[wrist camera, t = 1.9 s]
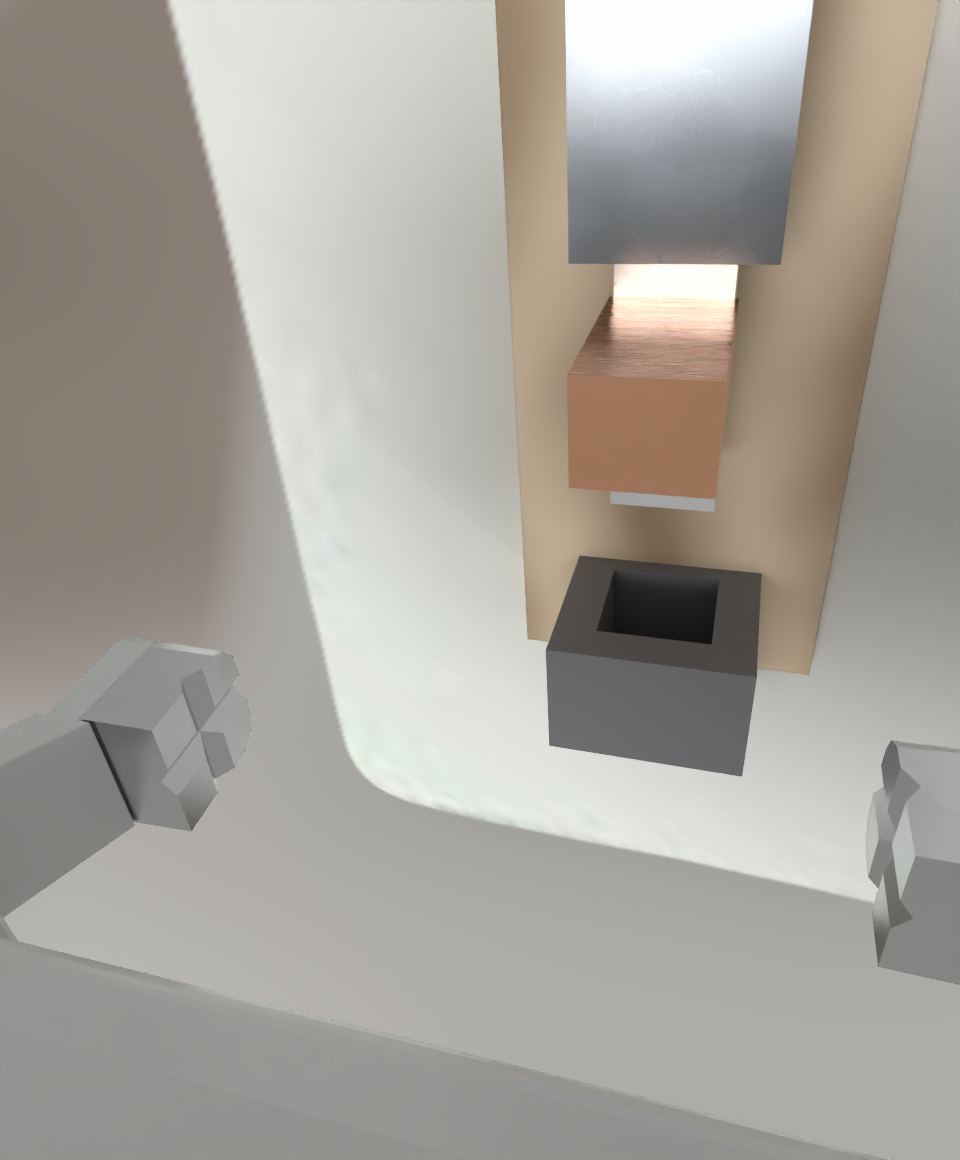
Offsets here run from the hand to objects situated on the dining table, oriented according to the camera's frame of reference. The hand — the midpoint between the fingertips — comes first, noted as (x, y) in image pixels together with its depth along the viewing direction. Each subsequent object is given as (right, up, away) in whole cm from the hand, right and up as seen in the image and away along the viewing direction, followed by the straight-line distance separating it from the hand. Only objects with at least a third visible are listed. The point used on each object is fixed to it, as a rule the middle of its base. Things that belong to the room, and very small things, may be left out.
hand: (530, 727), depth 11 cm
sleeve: (+5, +15, +9) cm, 18 cm away
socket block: (+6, +1, +19) cm, 20 cm away
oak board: (+5, +9, +14) cm, 18 cm away
